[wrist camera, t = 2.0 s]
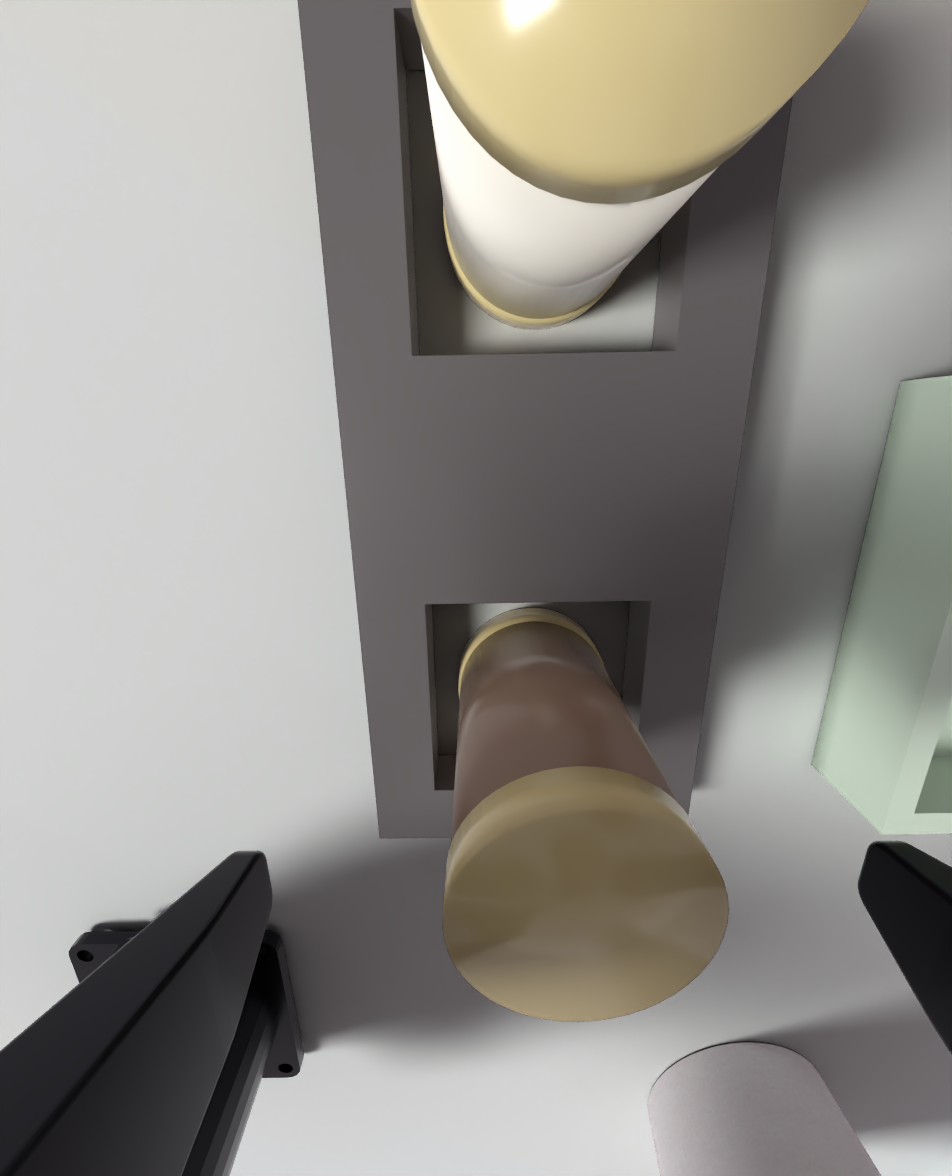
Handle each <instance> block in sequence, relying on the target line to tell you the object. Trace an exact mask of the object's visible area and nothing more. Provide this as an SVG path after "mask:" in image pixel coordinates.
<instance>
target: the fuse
mask: <svg viewBox="0 0 952 1176" xmlns="http://www.w3.org/2000/svg"><path fill="white" fill-rule="evenodd" d="M410 2H411V7H412V12H413V17H414V20H415V24H416V27H417V30H418V34H419V37H420V40H421V45H422V52H423V60H424V67H425V74H426V81H427V88H428V95H429V102H430V109H431V116H432V123H433V131H434V138H435V145H436V152H437V159H438V166H439V173H440V180H441V187H442V194H443V216H444V228H445V234H446V241H447V246H448V251H449V256H450V260H451V263H452V266H453V269H454V271H455V273H456V276H457V278H458V280H459V282H460V284H461V285H462V287H463V288H464V290H465V292H466V293H467V294H468V296H469V297H470V298H471V299H472V301H473V302H474V303H475V304H476V305H477V306H478V307H479V308H480V309H481V310H482V311H484V312H485V313H487V314H488V315H489V316H491V317H492V318H494V319H496V320H498V321H499V322H501V323H504V324H506V325H509V326H512V327H516V328H521V329H530V330H539V329H548V328H552V327H557V326H560V325H562V324H565V323H567V322H570V321H572V320H573V319H575V318H577V317H579V316H580V315H582V314H583V313H584V312H586V311H587V310H588V309H590V308H591V307H592V306H593V305H594V304H595V303H596V302H597V301H598V300H599V299H600V298H601V297H602V296H603V295H604V294H605V293H606V292H607V291H608V289H609V288H610V287H611V286H612V285H613V283H614V282H615V281H616V280H617V278H618V277H619V275H620V274H621V272H622V271H623V269H624V268H625V267H626V266H627V265H628V264H629V263H630V262H631V261H632V260H633V259H634V257H635V256H636V255H637V254H638V253H639V252H640V251H641V250H642V249H643V248H644V247H645V246H646V244H647V243H648V242H649V241H650V240H651V239H652V238H653V237H654V236H655V235H656V234H657V233H658V231H659V230H660V229H661V228H662V227H663V226H664V225H665V224H666V223H667V222H668V221H669V220H670V218H671V217H672V216H673V215H674V214H675V213H676V212H677V211H678V210H679V209H680V208H681V207H682V206H683V204H684V203H685V202H686V201H687V200H688V199H689V198H690V197H691V196H692V195H693V194H694V193H695V191H696V190H697V189H698V188H699V187H700V186H701V185H702V184H703V183H704V182H705V181H706V180H707V178H708V177H709V176H710V175H711V174H712V173H713V172H714V171H715V170H716V169H717V168H718V167H719V166H720V165H721V164H722V163H723V162H725V161H726V160H727V159H729V158H730V157H731V156H733V155H734V154H735V153H737V152H738V151H739V150H740V149H741V148H742V147H743V146H744V145H745V144H746V143H747V142H748V141H749V140H750V139H751V138H752V137H753V136H754V135H755V134H756V133H757V132H758V131H759V130H760V129H761V128H762V127H763V126H764V125H765V124H766V123H767V122H768V121H769V120H770V119H771V118H772V117H773V116H774V115H775V114H776V113H777V112H778V110H779V109H780V108H781V107H782V106H783V105H784V104H785V103H786V102H787V101H788V100H789V99H790V98H791V97H792V96H793V95H794V94H795V93H796V92H797V90H798V89H799V88H800V87H801V86H802V85H803V84H804V83H805V82H806V81H807V80H808V79H809V78H810V77H811V76H812V75H813V74H814V73H815V72H816V70H817V69H818V68H819V67H820V66H821V65H822V64H823V62H824V61H825V60H826V59H827V58H828V56H829V55H830V54H831V53H832V52H833V50H834V49H835V48H836V47H837V46H838V44H839V43H840V42H841V41H842V40H843V38H844V37H845V36H846V35H847V33H848V32H849V30H850V29H851V27H852V26H853V24H854V23H855V21H856V20H857V18H858V17H859V15H860V14H861V12H862V11H863V9H864V8H865V6H866V5H867V3H868V2H869V0H410Z"/></svg>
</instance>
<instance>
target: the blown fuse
mask: <svg viewBox="0 0 952 1176" xmlns="http://www.w3.org/2000/svg"><path fill="white" fill-rule="evenodd" d="M458 691H459V699H460V702H459V719H458V735H457V752H456V769H455V786H454V803H453V820H452V837H451V845H450V848H449V852H448V857H447V863H446V878H445V893H444V908H443V934H444V941H445V944H446V947H447V950H448V953H449V956H450V957H451V959H452V961H453V963H454V965H455V967H456V968H457V969H458V971H459V972H460V973H461V975H462V976H463V977H464V978H465V979H466V980H467V981H468V982H469V983H470V985H471V986H472V987H473V988H475V989H476V990H477V991H479V992H480V993H481V994H483V995H484V996H485V997H487V998H489V999H490V1000H492V1001H494V1002H495V1003H497V1004H499V1005H501V1006H503V1007H506V1008H508V1009H510V1010H512V1011H515V1012H518V1013H521V1014H524V1015H528V1016H532V1017H536V1018H541V1019H546V1020H554V1021H567V1022H584V1021H598V1020H605V1019H612V1018H616V1017H620V1016H624V1015H629V1014H632V1013H635V1012H638V1011H641V1010H644V1009H646V1008H648V1007H651V1006H653V1005H655V1004H658V1003H660V1002H662V1001H663V1000H665V999H667V998H669V997H671V996H672V995H674V994H676V993H677V992H678V991H680V990H681V989H683V988H684V987H685V986H687V985H688V984H689V983H690V982H691V981H693V980H694V979H695V978H696V977H697V976H698V975H699V974H700V973H701V972H702V971H703V970H704V968H705V967H706V966H707V965H708V964H709V963H710V961H711V960H712V958H713V957H714V955H715V954H716V952H717V950H718V948H719V946H720V944H721V942H722V940H723V938H724V934H725V930H726V927H727V923H728V913H729V906H728V895H727V891H726V887H725V884H724V881H723V879H722V877H721V875H720V872H719V870H718V868H717V866H716V865H715V863H714V861H713V859H712V857H711V856H710V854H709V852H708V850H707V848H706V846H705V845H704V843H703V841H702V839H701V837H700V836H699V834H698V832H697V830H696V828H695V826H694V825H693V823H692V821H691V819H690V818H689V816H688V815H687V814H686V812H685V811H684V809H683V808H682V807H681V806H680V805H679V804H678V803H677V801H676V799H675V797H674V795H673V793H672V792H671V790H670V788H669V786H668V784H667V782H666V781H665V779H664V777H663V775H662V773H661V771H660V769H659V768H658V766H657V764H656V762H655V760H654V758H653V756H652V755H651V753H650V751H649V749H648V747H647V745H646V744H645V742H644V740H643V738H642V736H641V734H640V732H639V731H638V729H637V727H636V725H635V723H634V721H633V719H632V718H631V716H630V714H629V712H628V710H627V708H626V706H625V705H624V703H623V701H622V699H621V697H620V695H619V694H618V692H617V690H616V688H615V686H614V684H613V682H612V681H611V679H610V677H609V675H608V673H607V671H606V669H605V666H604V663H603V660H602V658H601V656H600V654H599V652H598V650H597V648H596V647H595V645H594V643H593V641H592V640H591V638H590V637H589V635H588V634H587V632H586V631H585V630H584V629H583V628H582V627H581V626H580V625H579V624H577V623H576V622H575V621H574V620H572V619H570V618H569V617H567V616H565V615H563V614H561V613H559V612H555V611H552V610H549V609H543V608H520V609H515V610H511V611H508V612H505V613H502V614H500V615H498V616H496V617H494V618H492V619H491V620H489V621H488V622H486V623H485V624H484V625H482V626H481V627H480V628H479V629H478V630H477V631H476V632H475V633H474V634H473V636H472V637H471V639H470V640H469V641H468V643H467V645H466V647H465V649H464V651H463V654H462V657H461V662H460V669H459V685H458Z"/></svg>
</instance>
